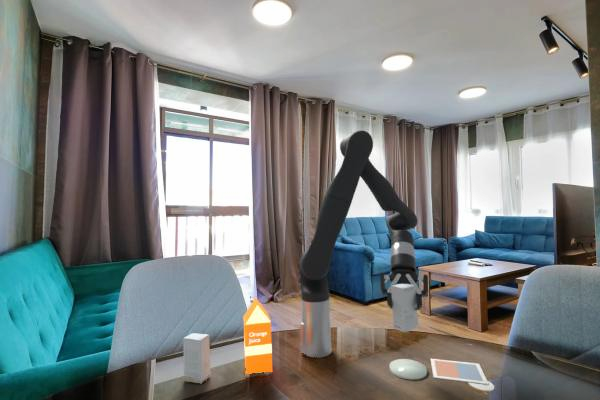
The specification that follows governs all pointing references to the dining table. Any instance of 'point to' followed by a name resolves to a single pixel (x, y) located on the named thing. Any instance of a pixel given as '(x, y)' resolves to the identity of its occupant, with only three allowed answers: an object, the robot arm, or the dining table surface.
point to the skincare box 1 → (196, 356)
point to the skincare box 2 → (404, 307)
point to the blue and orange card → (458, 371)
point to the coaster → (408, 369)
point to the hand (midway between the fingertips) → (404, 307)
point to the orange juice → (257, 339)
